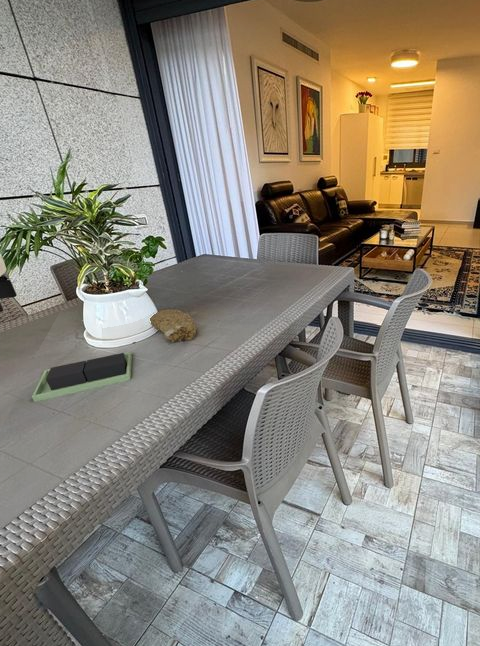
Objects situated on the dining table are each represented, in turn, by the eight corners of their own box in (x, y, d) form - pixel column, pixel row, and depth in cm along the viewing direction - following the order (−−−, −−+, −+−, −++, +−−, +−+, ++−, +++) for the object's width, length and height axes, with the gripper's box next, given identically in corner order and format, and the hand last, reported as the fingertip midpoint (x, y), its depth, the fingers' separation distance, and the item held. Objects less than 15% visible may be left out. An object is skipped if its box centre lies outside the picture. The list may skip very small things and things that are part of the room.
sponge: (203, 341, 114) (188, 309, 127) (194, 322, 108) (180, 291, 121) (162, 357, 110) (151, 323, 123) (151, 339, 104) (141, 306, 117)
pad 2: (88, 382, 92) (83, 371, 90) (91, 371, 96) (86, 360, 95) (126, 373, 95) (122, 362, 93) (127, 363, 99) (123, 352, 98)
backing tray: (35, 403, 85) (31, 396, 84) (47, 376, 96) (44, 369, 95) (130, 381, 92) (128, 374, 91) (132, 358, 103) (130, 352, 102)
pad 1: (51, 390, 89) (45, 379, 87) (56, 378, 94) (50, 367, 92) (87, 382, 92) (82, 371, 90) (90, 371, 96) (85, 360, 95)
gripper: (-42, 218, 75) (-6, 294, 83) (-84, 232, 61) (-36, 322, 69) (2, 216, 78) (32, 290, 86) (-29, 229, 64) (10, 315, 72)
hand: (1, 304), depth 77 cm, fingers open, 9 cm apart
